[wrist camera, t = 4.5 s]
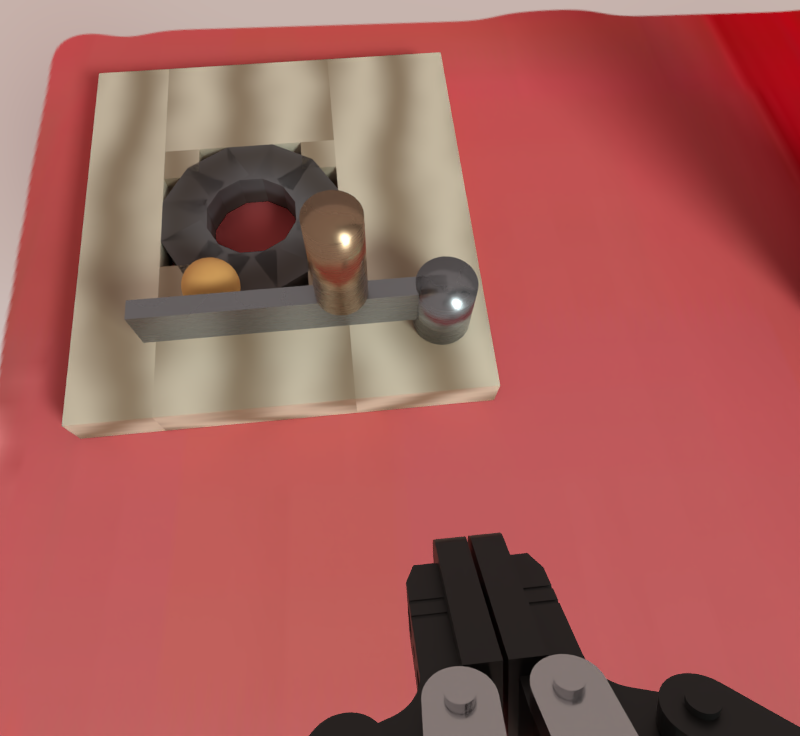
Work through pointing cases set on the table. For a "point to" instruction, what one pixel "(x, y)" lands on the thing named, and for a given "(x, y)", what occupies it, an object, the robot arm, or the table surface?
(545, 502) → the table surface
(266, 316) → the catapult lever
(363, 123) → the board
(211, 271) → the ball
